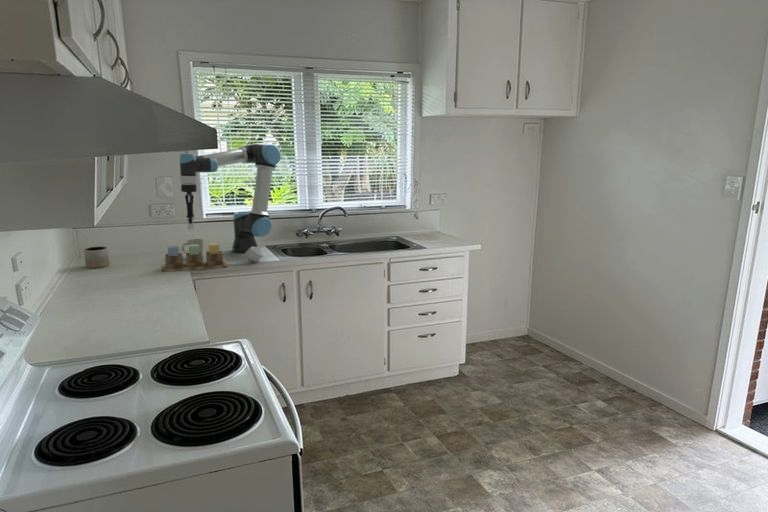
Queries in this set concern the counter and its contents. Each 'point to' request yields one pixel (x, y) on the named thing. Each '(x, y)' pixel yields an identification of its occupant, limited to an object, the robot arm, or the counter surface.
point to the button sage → (194, 249)
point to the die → (254, 254)
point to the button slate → (173, 250)
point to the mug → (194, 241)
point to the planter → (96, 257)
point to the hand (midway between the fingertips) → (190, 229)
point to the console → (193, 262)
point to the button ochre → (213, 248)
